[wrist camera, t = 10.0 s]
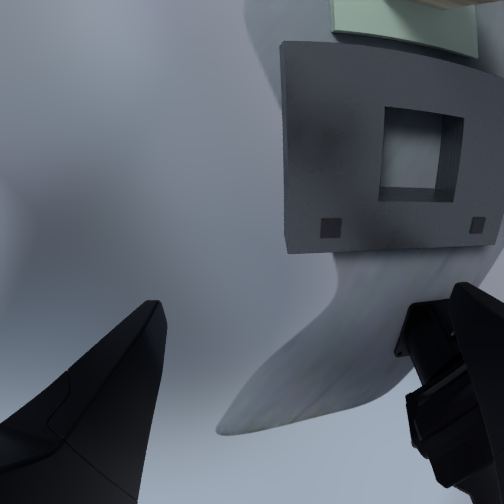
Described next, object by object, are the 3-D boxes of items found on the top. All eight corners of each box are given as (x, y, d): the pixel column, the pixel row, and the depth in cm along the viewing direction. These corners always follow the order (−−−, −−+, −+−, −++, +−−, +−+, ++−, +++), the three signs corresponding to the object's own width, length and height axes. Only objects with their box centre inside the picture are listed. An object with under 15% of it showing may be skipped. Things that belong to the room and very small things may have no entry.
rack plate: (478, 229, 21) (495, 245, 18) (284, 234, 21) (287, 255, 19) (498, 80, 15) (521, 85, 12) (279, 46, 15) (283, 40, 13)
